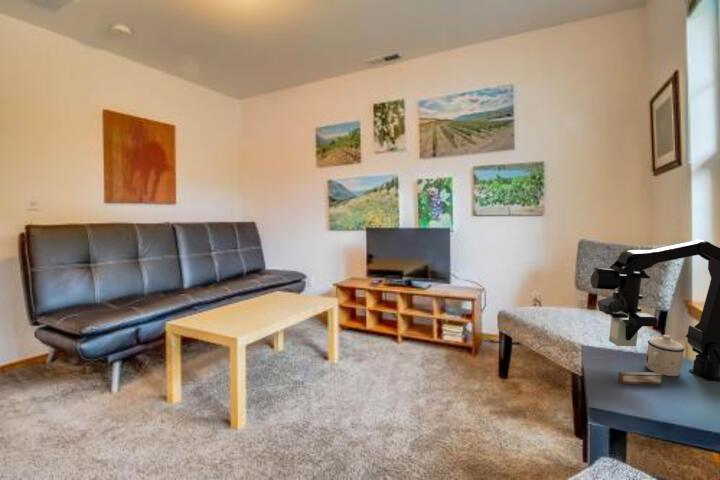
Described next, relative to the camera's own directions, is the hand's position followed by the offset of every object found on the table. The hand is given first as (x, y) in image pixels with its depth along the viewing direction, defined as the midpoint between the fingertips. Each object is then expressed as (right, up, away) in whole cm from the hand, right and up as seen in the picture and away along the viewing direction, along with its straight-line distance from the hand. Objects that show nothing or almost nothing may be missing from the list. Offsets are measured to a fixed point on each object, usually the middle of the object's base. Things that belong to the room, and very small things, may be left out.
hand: (623, 337), depth 118 cm
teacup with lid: (+11, -11, -1) cm, 16 cm away
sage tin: (0, -2, 0) cm, 2 cm away
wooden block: (-1, -12, -8) cm, 14 cm away
